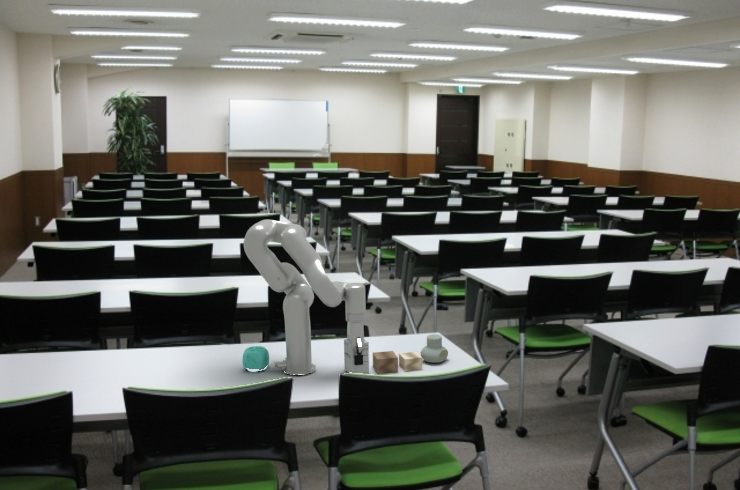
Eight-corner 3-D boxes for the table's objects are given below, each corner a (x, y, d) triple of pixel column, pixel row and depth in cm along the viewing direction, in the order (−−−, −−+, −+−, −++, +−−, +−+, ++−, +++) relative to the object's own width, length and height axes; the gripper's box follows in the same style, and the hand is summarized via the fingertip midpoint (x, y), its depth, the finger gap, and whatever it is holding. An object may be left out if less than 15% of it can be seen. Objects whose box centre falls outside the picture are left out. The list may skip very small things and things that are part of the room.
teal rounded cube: (262, 373, 276) (261, 353, 275) (242, 372, 278) (241, 352, 276) (269, 366, 284) (268, 346, 282) (250, 364, 285) (249, 345, 284)
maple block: (404, 372, 275) (404, 359, 274) (399, 365, 282) (398, 353, 281) (422, 369, 277) (422, 357, 276) (416, 363, 284) (415, 351, 283)
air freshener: (435, 366, 280) (435, 341, 278) (417, 362, 285) (417, 338, 283) (450, 359, 288) (450, 334, 287) (432, 355, 293) (432, 331, 291)
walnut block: (377, 374, 273) (377, 359, 272) (372, 367, 281) (372, 352, 280) (398, 372, 275) (397, 357, 273) (393, 365, 282) (392, 350, 281)
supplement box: (344, 370, 277) (343, 338, 275) (361, 367, 280) (361, 336, 278) (351, 376, 271) (350, 344, 268) (369, 373, 274) (369, 341, 271)
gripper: (341, 310, 279) (342, 354, 282) (349, 323, 262) (350, 369, 266) (361, 309, 281) (361, 352, 284) (370, 321, 264) (371, 367, 267)
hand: (356, 360), depth 275 cm, fingers closed on supplement box, 8 cm apart
